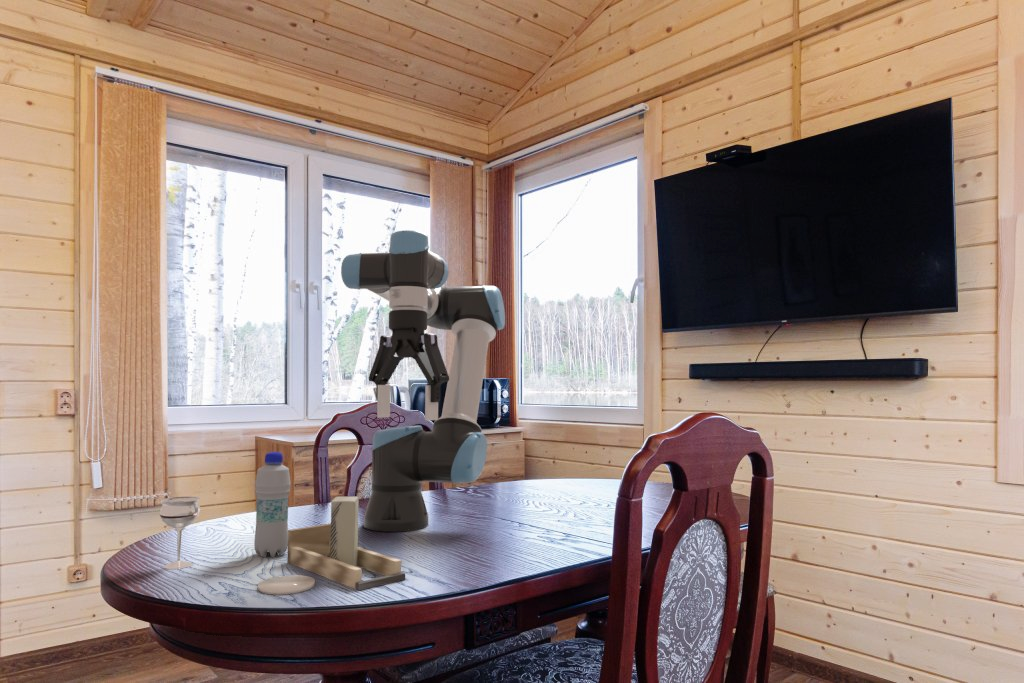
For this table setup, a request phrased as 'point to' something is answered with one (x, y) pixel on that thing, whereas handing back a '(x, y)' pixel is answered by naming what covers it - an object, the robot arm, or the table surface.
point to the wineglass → (179, 521)
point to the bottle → (272, 506)
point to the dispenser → (312, 552)
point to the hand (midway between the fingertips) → (406, 418)
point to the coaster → (286, 584)
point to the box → (344, 529)
